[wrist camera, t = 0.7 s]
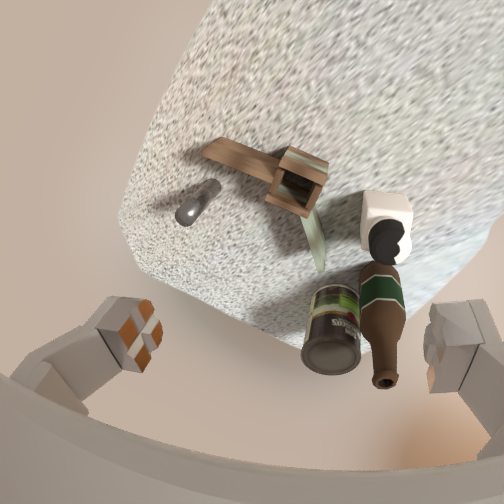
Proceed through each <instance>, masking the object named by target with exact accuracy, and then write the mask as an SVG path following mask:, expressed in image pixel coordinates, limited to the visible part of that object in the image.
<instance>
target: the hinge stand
mask: <svg viewBox="0 0 504 504" xmlns="http://www.w3.org/2000/svg"><path fill="white" fill-rule="evenodd" d="M201 156H204V157H206V158H209V159H212V160H214V161H217V162H219V163H222V164H224V165H227V166H229V167H232V168H234V169H237V170H239V171H242V172H244V173H247V174H249V175H252V176H254V177H256V178H259V179H261V180H264V181H266V182H268V183H271V186H270V188H269V191H268V194H267V196H266V198H265V201H267V202H269V203H272V204H274V205H276V206H279V207H281V208H283V209H285V210H288V211H290V212H292V213H295V214H297V215H299V216H300V218H301V221H302V224H303V227H304V230H305V233H306V236H307V239H308V242H309V246H310V249H311V252H312V255H313V258H314V261H315V265H316V268H317V271H318V273H321V272H324V270H325V261H326V251H327V243H326V240H325V236H324V233H323V230H322V226H321V223H320V219H319V216H318V213H317V210H316V206H315V203H316V201H317V199H318V197H319V195H320V193H321V191H322V187H323V186H324V184H325V182H326V180H327V173H328V164H329V163H328V162H326V161H324V160H321V159H319V158H317V157H315V156H313V155H310V154H308V153H306V152H303V151H301V150H299V149H296V148H294V147H292V146H289V147H288V149H287V151H286V152H285V154H284V156H283V157H282V159H281V160H280V159H277V158H275V157H272V156H270V155H268V154H265V153H263V152H260V151H258V150H255V149H253V148H250V147H248V146H245V145H242V144H240V143H237V142H235V141H232V140H229V139H227V138H224V137H220V138H219V139H217V140H216V141H214V142H213V143H211V144H210V145H209V146H207V147H206V148H204V149H203V151H202V155H201ZM286 170H289V171H291V172H293V173H296V174H298V175H300V176H302V177H305V178H307V179H309V180H311V181H313V182H312V184H311V186H310V190H308V189H306V188H304V187H301V186H299V185H297V184H295V183H292V182H290V181H288V180H285V179H283V177H284V174H285V172H286Z"/></svg>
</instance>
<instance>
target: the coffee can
mask: <svg viewBox="0 0 504 504" xmlns="http://www.w3.org/2000/svg"><path fill="white" fill-rule="evenodd" d="M360 341H361V331H360V310H359V295H358V293H357V292H356V291H355V290H354V289H352V288H350V287H348V286H346V285H342V284H329V285H325V286H323V287H321V288H319V289H318V290H317V291H316V292H315V293H314V294H313V296H312V299H311V306H310V312H309V317H308V322H307V328H306V333H305V338H304V344H303V347H302V350H301V359H302V362H303V363H304V365H305V366H306V367H308V368H309V369H310V370H312V371H314V372H316V373H319V374H324V375H341V374H344V373H348V372H350V371H351V370H353V369H354V368H356V366H358V364H359V362H360V359H361V351H360Z"/></svg>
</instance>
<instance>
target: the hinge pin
mask: <svg viewBox="0 0 504 504" xmlns="http://www.w3.org/2000/svg"><path fill="white" fill-rule="evenodd" d="M220 191H221V184H220V182H219V181H218V180H216V179H209V180H207V181H206V182H205V183H204V184H203V185H202V186H201V187H200V188H199V189H198V190H197V191H196V192H195V193H194V194H193V195H192V196H191V197H190V198H189V199H188V200H187V201H186V202H185V203H184V204H182V205H181V206H180V207H179V208H178V209H177V211H176V212H175V219H176V221H177V222H178V223H179V224H180V225H182V226H185V227H188V226H191V225H192V224H193V223H194V221H195V220H196V219H197V218H198V217H199V215H200V214H201V213H202V212H203V211H204V210H205V208H206V207H207V206H208V205H209V204H210V203H211V202H212V200H213V199H214V198H215V197H216V196H217V195H218V193H219V192H220Z"/></svg>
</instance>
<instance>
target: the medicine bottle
mask: <svg viewBox="0 0 504 504" xmlns="http://www.w3.org/2000/svg"><path fill="white" fill-rule="evenodd" d="M412 219H413V211H412V208H411V206H410V204H409V202H408V199H407V197H406V195H405V194H398V193H388V192H379V191H369V190H365V191H364V193H363V203H362V213H361V221H360V237H361V249H362V250H367V251H370V254H371V256H372V258H373V259H374V260H375V261H376V262H378V263H380V264H382V265H387V266H391V265H396V264H399V263H401V262H402V261H404V260H405V259H406V258H407V257H408V255H409V254H410V252H411V248H412V243H411V239H410V236H409V235H410V230H411V225H412Z"/></svg>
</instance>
